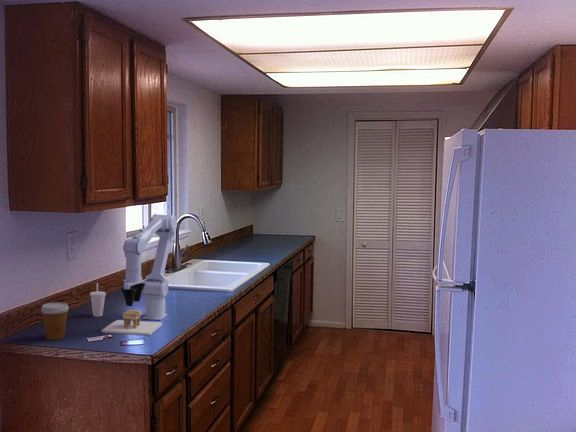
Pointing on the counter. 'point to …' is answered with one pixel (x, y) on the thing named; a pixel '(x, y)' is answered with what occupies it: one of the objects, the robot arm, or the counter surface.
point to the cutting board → (142, 329)
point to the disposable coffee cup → (54, 320)
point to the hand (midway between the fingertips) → (133, 303)
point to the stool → (132, 315)
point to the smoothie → (97, 302)
